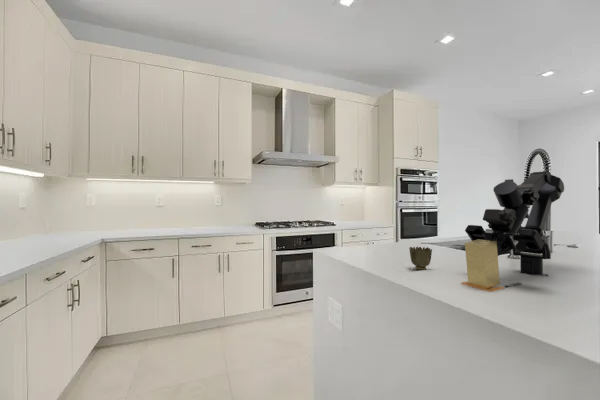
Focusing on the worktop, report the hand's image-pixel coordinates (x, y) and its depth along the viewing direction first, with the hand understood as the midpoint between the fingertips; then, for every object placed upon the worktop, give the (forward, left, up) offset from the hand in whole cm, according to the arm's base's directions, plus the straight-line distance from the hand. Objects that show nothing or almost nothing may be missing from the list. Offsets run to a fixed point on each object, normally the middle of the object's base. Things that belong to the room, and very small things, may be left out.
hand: (488, 258), depth 79 cm
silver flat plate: (-1, 0, -8) cm, 9 cm away
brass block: (+2, 0, -7) cm, 8 cm away
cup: (+1, -23, -9) cm, 25 cm away
